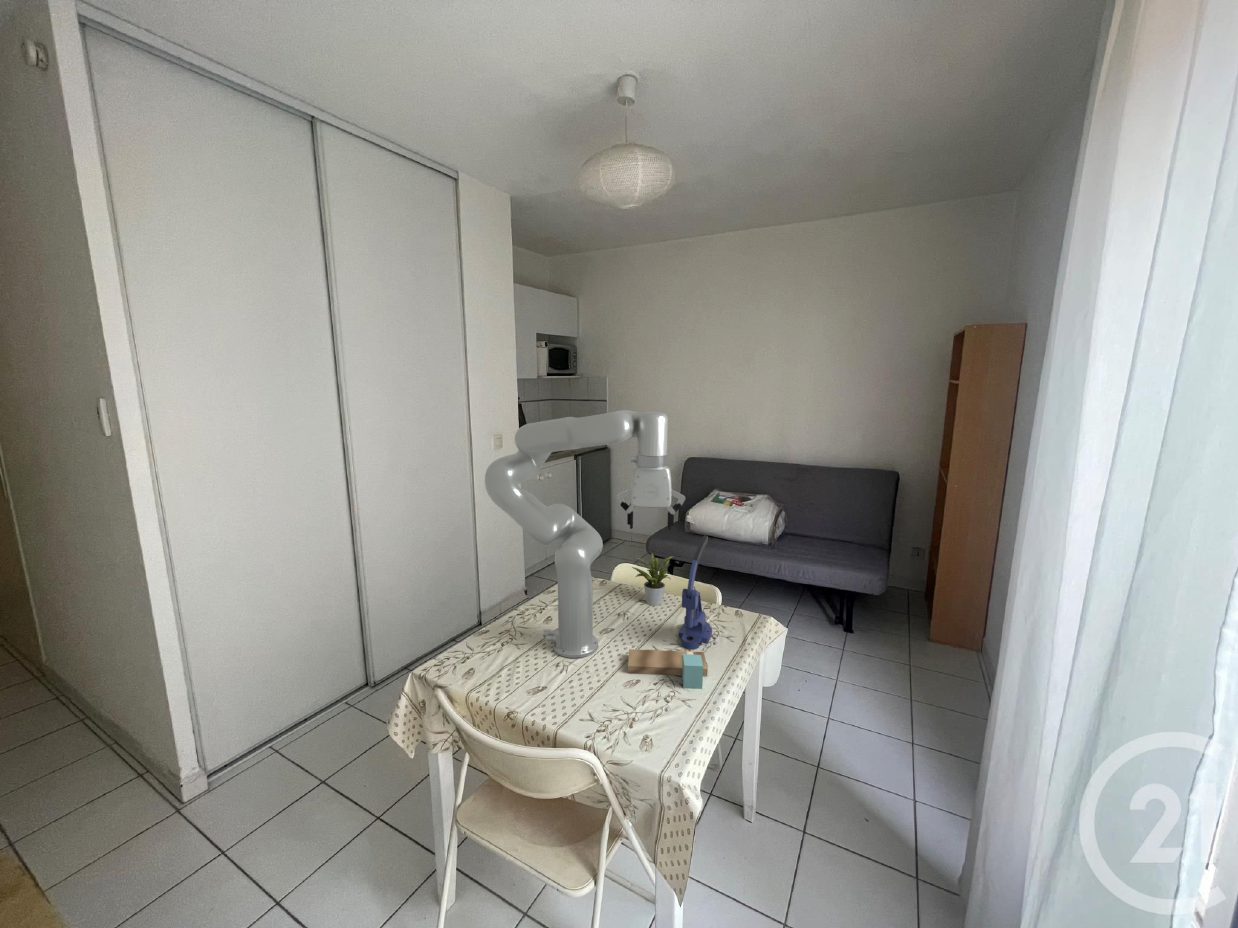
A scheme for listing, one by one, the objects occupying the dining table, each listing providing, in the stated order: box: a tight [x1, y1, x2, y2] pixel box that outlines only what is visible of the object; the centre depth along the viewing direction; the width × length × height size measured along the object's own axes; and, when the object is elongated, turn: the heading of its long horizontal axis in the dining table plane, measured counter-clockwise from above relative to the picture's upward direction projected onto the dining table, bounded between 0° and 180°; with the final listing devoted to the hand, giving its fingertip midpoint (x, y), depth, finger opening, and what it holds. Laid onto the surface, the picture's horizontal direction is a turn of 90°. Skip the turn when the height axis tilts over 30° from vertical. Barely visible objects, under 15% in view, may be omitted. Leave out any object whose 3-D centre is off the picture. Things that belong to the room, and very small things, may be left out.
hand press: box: [678, 535, 713, 651], centre depth 142 cm, size 19×9×28 cm, turn 157°
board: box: [627, 648, 709, 677], centre depth 129 cm, size 20×8×2 cm, turn 87°
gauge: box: [681, 651, 704, 690], centre depth 125 cm, size 4×10×6 cm, turn 177°
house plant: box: [631, 552, 675, 607], centre depth 167 cm, size 14×14×16 cm
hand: (650, 527), depth 127 cm, fingers open, 9 cm apart
